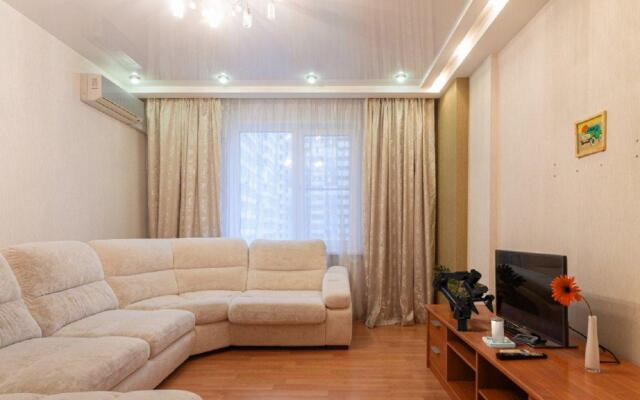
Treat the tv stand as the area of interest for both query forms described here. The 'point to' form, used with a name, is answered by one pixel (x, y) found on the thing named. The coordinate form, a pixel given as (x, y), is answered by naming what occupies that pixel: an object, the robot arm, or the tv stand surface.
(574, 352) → the tv stand surface
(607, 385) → the tv stand surface
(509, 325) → the door stopper
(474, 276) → the robot arm
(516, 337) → the collar
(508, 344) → the tray
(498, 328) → the stop cylinder
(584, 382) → the tv stand surface
